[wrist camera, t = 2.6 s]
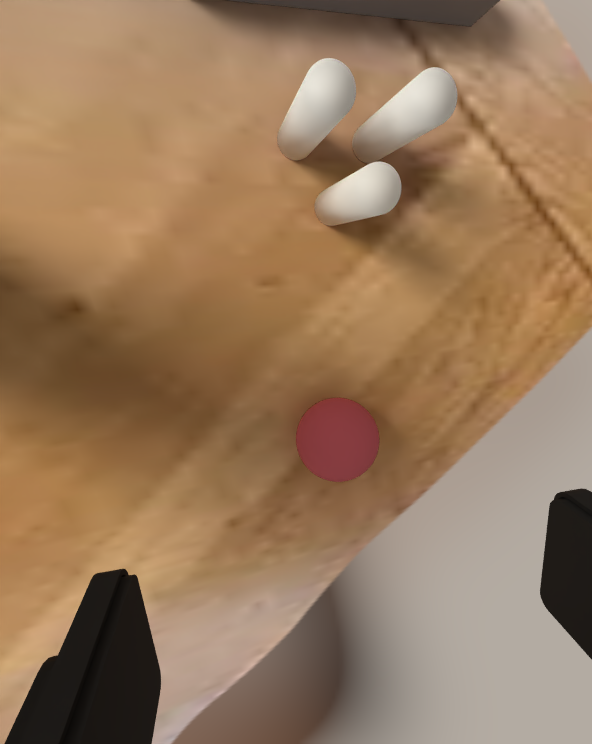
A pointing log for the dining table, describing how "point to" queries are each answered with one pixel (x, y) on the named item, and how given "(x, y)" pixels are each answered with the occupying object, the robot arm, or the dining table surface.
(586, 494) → the robot arm
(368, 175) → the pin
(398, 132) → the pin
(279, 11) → the dining table surface
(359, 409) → the ball
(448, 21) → the back wall
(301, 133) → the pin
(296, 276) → the dining table surface
